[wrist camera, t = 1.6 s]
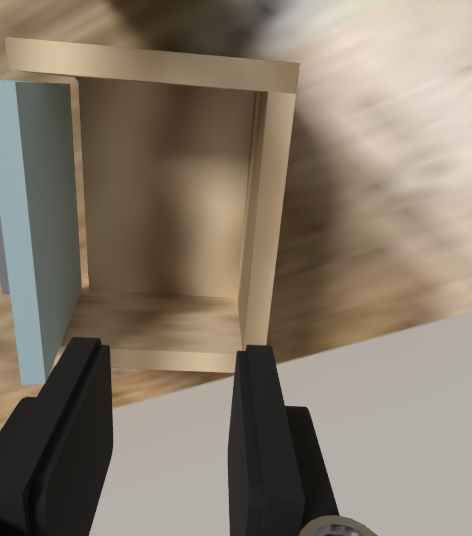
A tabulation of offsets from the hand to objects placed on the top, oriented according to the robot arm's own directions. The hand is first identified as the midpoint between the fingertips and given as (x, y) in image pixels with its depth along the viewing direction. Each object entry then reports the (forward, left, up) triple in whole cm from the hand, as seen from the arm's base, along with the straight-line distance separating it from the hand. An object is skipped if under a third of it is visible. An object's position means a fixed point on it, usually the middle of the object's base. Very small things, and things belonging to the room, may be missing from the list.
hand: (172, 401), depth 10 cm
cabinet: (+2, 0, -21) cm, 21 cm away
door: (+9, 0, -13) cm, 16 cm away
